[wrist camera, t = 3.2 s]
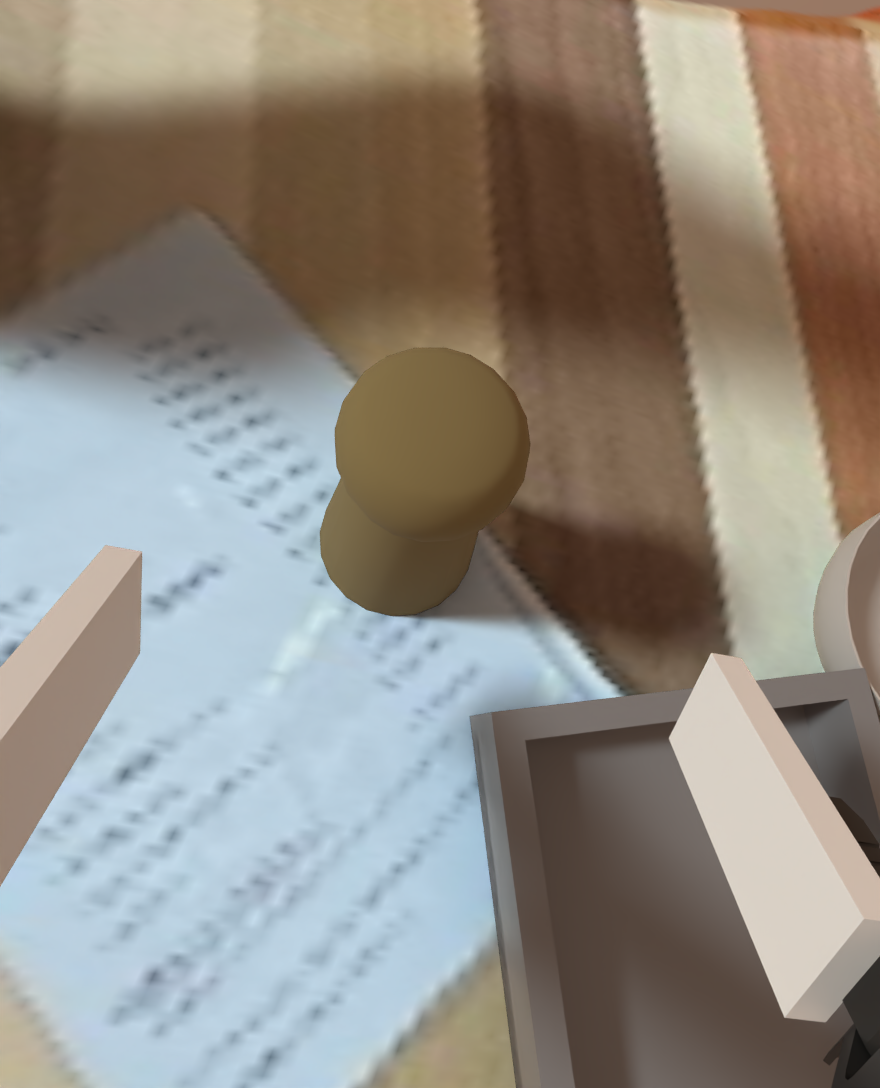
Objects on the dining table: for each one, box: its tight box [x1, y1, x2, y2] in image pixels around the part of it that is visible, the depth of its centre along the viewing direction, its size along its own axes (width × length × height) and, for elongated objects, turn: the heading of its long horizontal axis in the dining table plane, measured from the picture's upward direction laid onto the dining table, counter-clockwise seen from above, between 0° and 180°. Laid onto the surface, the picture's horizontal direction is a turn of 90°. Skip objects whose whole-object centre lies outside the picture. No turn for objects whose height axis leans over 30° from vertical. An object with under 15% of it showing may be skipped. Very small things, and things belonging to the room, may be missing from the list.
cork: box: [320, 348, 530, 616], centre depth 22 cm, size 6×6×11 cm
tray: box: [470, 668, 880, 1088], centre depth 23 cm, size 20×14×4 cm
